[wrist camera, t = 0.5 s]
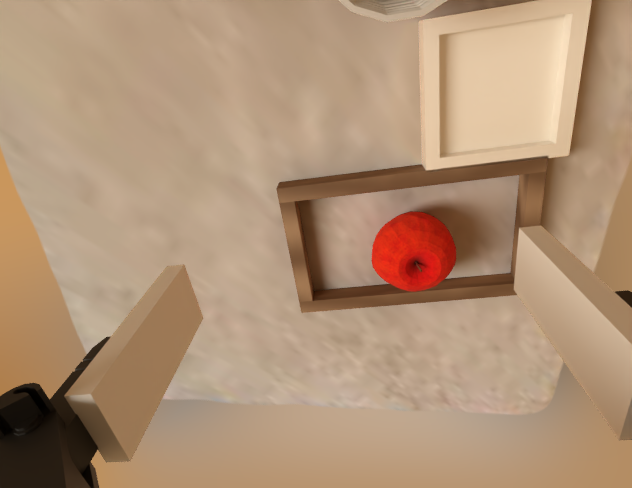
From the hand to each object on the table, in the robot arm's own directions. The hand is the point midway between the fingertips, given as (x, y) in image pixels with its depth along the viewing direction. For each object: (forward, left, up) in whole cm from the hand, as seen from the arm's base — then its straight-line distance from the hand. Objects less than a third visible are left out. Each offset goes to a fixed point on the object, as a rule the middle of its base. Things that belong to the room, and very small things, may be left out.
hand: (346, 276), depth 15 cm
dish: (-3, +13, -24) cm, 28 cm away
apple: (+11, +5, -25) cm, 27 cm away
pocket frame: (+11, +5, -24) cm, 27 cm away
